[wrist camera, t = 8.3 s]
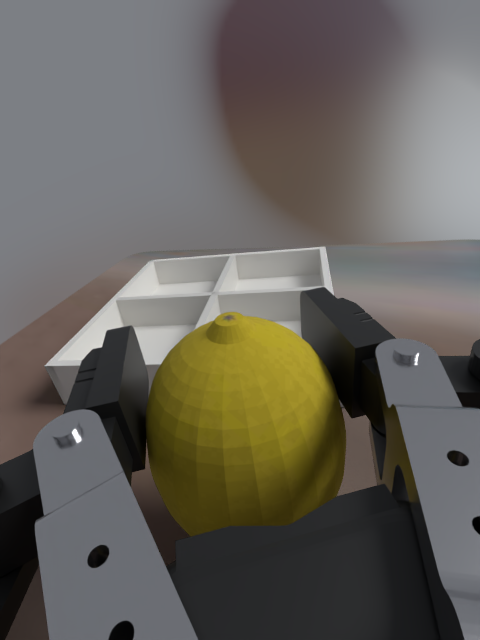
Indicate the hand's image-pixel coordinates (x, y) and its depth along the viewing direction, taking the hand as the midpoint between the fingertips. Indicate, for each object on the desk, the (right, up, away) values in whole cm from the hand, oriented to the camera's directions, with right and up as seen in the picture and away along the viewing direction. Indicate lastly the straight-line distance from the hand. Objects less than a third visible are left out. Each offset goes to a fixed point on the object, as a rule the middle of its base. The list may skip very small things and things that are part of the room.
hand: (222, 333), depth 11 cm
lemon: (+1, -7, +1) cm, 7 cm away
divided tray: (-1, 0, +16) cm, 16 cm away
